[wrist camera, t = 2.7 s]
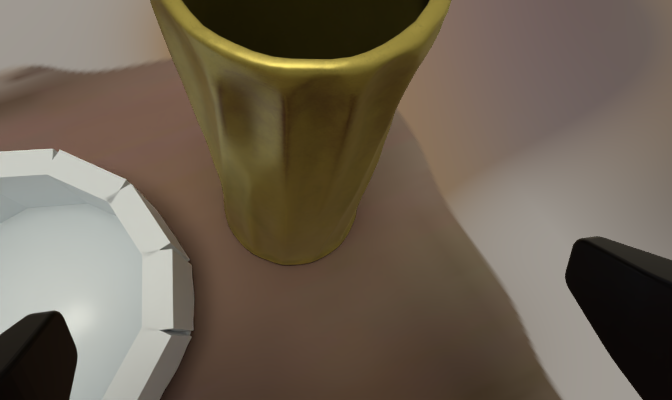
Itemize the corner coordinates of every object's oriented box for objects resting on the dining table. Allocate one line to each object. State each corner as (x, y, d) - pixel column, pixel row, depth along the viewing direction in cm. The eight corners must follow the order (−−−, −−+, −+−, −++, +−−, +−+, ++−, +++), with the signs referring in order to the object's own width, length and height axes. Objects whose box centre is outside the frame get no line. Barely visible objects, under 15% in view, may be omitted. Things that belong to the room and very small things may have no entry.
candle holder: (198, 440, 17) (174, 467, 13) (-122, 490, 16) (-248, 536, 12) (191, 177, 20) (171, 141, 17) (-75, 196, 19) (-163, 161, 15)
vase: (223, 268, 19) (82, 98, 6) (226, 141, 21) (125, -213, 8) (360, 263, 20) (518, 104, 7) (351, 141, 22) (461, -181, 8)
